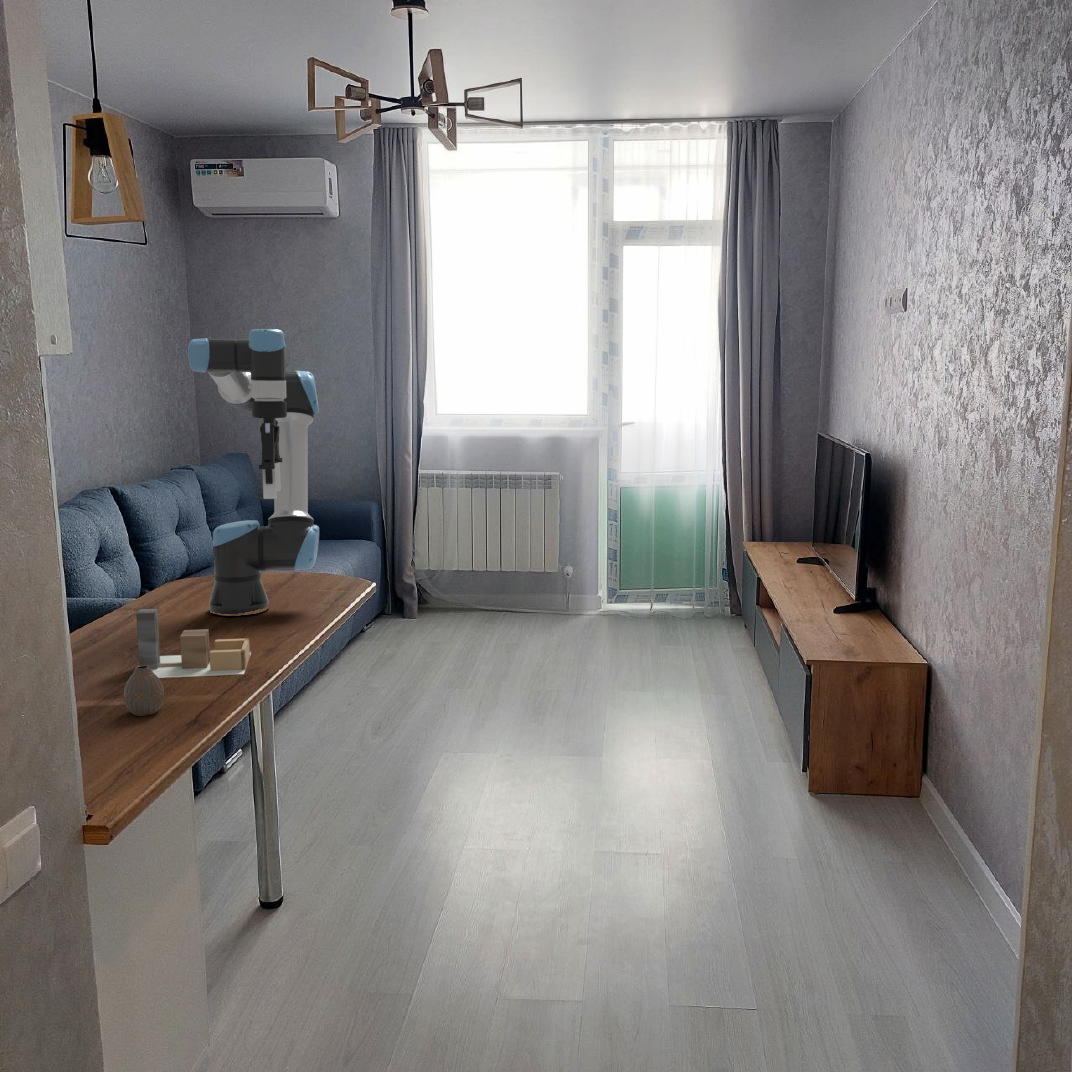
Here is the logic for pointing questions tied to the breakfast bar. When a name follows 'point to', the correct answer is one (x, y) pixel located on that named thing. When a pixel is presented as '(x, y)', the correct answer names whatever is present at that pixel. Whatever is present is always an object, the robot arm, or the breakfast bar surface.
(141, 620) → the tether block
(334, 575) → the breakfast bar surface
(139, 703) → the vase
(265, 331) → the robot arm
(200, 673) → the white board with bracket
